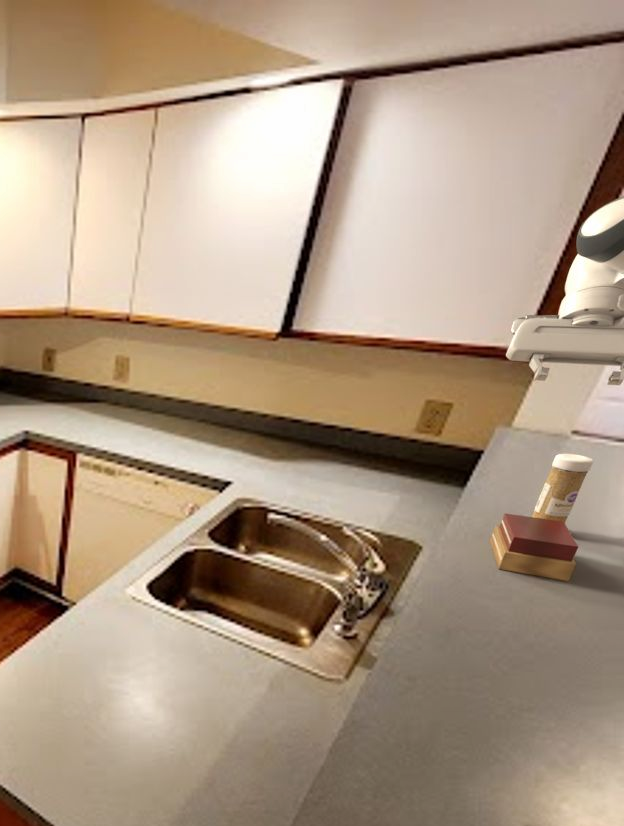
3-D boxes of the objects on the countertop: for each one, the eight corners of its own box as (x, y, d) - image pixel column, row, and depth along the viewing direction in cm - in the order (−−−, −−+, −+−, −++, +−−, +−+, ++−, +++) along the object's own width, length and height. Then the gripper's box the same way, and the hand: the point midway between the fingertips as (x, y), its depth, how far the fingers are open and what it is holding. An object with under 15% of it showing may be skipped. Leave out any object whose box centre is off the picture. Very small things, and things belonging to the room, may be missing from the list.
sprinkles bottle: (553, 536, 107) (585, 462, 102) (520, 527, 111) (550, 455, 105) (567, 531, 109) (600, 458, 103) (535, 522, 113) (565, 451, 107)
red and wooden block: (553, 550, 103) (566, 520, 100) (568, 581, 94) (583, 548, 92) (489, 540, 107) (500, 511, 105) (497, 568, 98) (510, 537, 96)
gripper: (520, 304, 116) (504, 365, 113) (684, 305, 104) (670, 374, 102) (509, 326, 121) (493, 385, 118) (665, 330, 109) (651, 396, 107)
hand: (576, 380), depth 110 cm, fingers open, 8 cm apart
